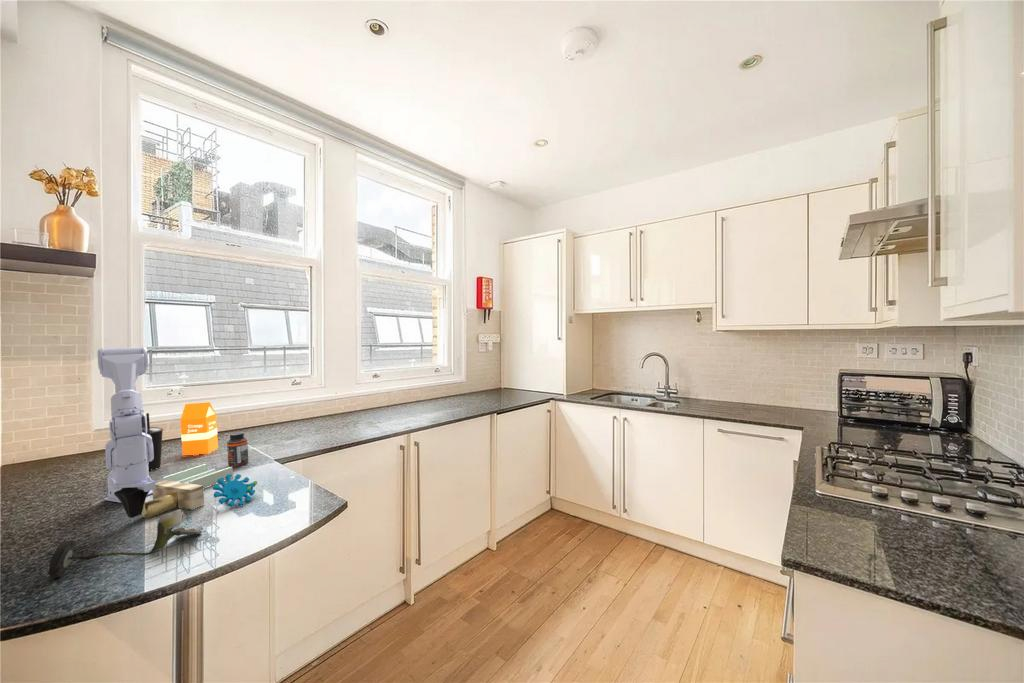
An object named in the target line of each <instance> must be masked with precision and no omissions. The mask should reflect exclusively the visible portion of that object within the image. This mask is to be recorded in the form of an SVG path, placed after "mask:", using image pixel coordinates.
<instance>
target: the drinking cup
mask: <svg viewBox="0 0 1024 683" xmlns="http://www.w3.org/2000/svg"><path fill="white" fill-rule="evenodd" d="M145 416H146V419H147V434H148V435H150V437H152V442H153V451H154V459H153V460H152V461H151V462H149V465H148V468H149V470H151V469H156V468H158V469H160V468H161V467H160V466H162V465H161V464H162V463H161V462H162V449H163V447H162V446H163V431H164V428H162V427H156V426H154V427H153V426H152V427H151V425H150V422H151V421H150V413H149V412H147V413H146V414H145ZM142 432H143V433H145V430H144V429H142ZM159 467H160V468H159ZM156 470H157V469H156Z"/></svg>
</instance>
